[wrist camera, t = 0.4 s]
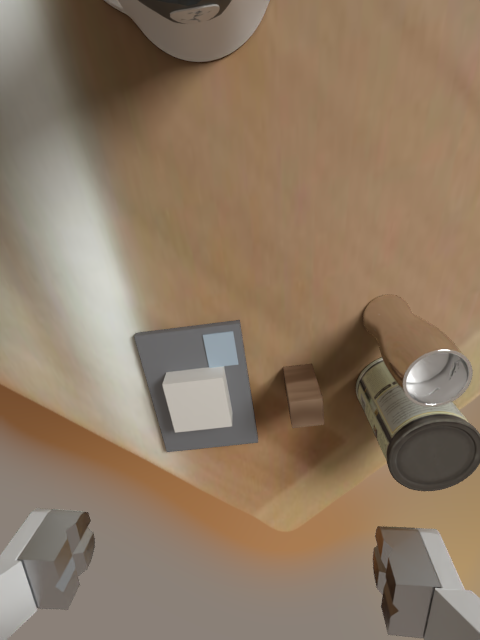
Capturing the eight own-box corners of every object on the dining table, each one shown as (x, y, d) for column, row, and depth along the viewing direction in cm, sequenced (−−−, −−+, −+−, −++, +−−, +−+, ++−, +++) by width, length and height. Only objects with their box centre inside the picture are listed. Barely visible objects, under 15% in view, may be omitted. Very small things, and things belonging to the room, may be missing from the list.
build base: (135, 333, 52) (128, 347, 49) (239, 320, 52) (239, 333, 48) (168, 447, 61) (163, 466, 57) (257, 437, 60) (258, 457, 56)
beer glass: (413, 286, 50) (478, 343, 36) (412, 335, 52) (471, 404, 39) (358, 294, 50) (401, 353, 36) (359, 342, 53) (400, 413, 39)
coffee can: (442, 386, 56) (502, 459, 43) (382, 425, 59) (421, 505, 46) (402, 339, 53) (453, 403, 40) (340, 383, 56) (369, 456, 43)
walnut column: (283, 367, 55) (289, 402, 47) (311, 363, 54) (322, 398, 47) (285, 390, 56) (292, 428, 49) (313, 387, 56) (324, 424, 49)
